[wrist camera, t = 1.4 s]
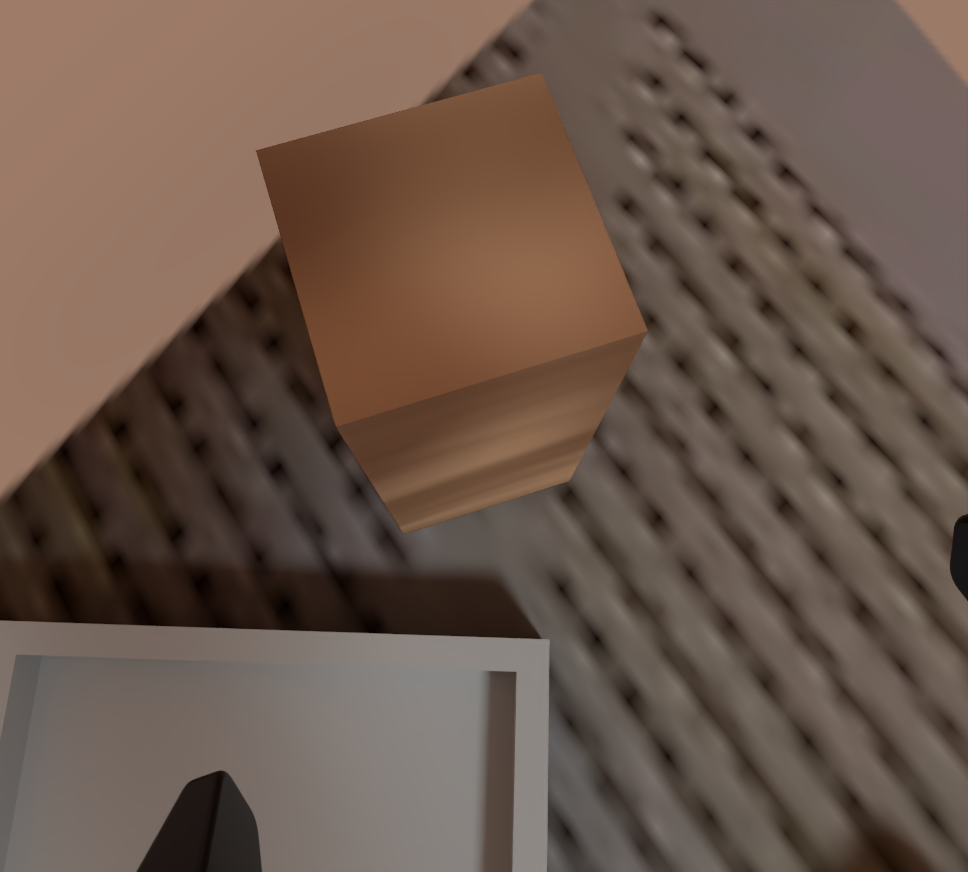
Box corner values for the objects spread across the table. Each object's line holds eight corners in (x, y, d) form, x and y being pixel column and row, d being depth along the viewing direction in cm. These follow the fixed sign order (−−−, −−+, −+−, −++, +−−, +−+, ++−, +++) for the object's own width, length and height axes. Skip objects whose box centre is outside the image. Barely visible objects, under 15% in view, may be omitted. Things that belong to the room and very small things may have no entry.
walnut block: (569, 480, 23) (647, 330, 12) (403, 534, 22) (336, 427, 12) (514, 328, 24) (541, 72, 13) (356, 376, 24) (256, 150, 13)
